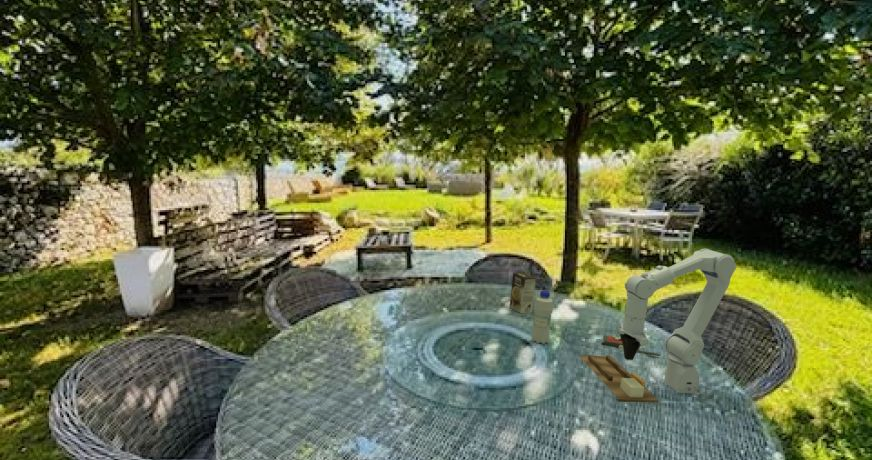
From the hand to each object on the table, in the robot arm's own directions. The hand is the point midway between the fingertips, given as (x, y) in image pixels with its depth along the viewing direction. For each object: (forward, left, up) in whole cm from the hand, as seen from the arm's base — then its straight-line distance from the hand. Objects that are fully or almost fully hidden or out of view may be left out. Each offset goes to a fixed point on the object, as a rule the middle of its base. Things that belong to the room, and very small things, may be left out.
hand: (628, 358), depth 147 cm
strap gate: (-1, -3, -8) cm, 9 cm away
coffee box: (+71, +13, -10) cm, 72 cm away
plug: (-4, 0, -9) cm, 10 cm away
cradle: (+6, 0, -9) cm, 11 cm away
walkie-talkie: (+30, -17, -10) cm, 36 cm away
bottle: (+33, +16, -10) cm, 38 cm away
